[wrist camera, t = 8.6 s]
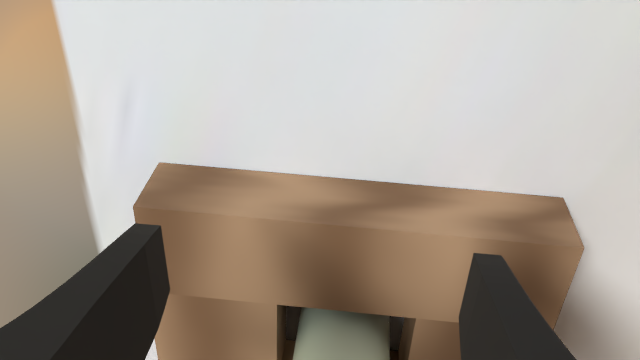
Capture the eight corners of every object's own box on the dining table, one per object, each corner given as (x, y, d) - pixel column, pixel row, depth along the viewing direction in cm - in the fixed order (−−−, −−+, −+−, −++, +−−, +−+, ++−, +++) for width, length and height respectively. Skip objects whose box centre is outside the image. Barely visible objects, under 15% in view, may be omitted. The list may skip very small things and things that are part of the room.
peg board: (563, 198, 23) (584, 248, 21) (490, 416, 31) (499, 471, 29) (159, 162, 24) (132, 206, 22) (187, 383, 32) (170, 434, 29)
